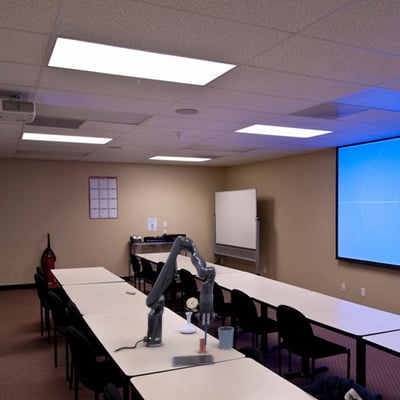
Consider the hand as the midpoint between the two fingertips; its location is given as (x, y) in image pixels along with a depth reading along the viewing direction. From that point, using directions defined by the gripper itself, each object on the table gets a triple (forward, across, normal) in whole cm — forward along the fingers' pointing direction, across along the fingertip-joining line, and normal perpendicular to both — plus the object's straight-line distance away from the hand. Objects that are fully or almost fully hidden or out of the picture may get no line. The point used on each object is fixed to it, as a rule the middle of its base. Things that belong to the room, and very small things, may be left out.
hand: (205, 330), depth 246 cm
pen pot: (+17, +1, -14) cm, 22 cm away
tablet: (+17, +7, 0) cm, 18 cm away
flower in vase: (+17, +8, -59) cm, 62 cm away
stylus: (+8, 0, 0) cm, 8 cm away
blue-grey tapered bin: (+17, -14, -22) cm, 31 cm away
